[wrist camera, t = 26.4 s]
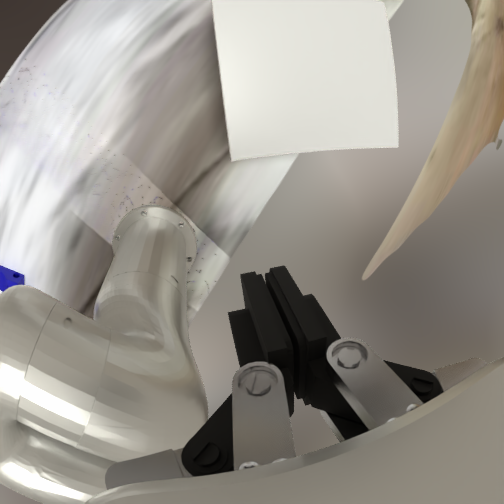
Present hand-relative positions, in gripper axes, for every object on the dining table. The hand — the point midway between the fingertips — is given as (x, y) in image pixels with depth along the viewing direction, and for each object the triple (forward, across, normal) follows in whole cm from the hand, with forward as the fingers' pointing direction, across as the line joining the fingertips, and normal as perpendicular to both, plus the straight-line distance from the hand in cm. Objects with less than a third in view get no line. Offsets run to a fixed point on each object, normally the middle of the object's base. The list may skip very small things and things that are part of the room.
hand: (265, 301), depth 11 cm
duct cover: (+23, -13, -2) cm, 27 cm away
